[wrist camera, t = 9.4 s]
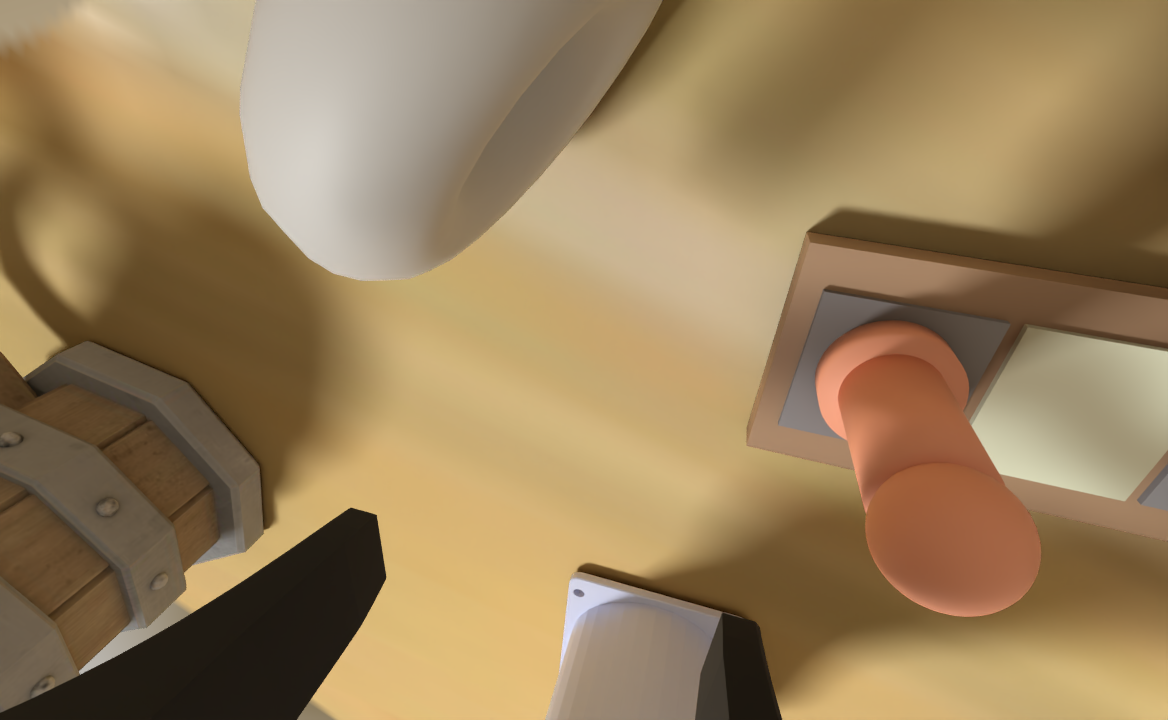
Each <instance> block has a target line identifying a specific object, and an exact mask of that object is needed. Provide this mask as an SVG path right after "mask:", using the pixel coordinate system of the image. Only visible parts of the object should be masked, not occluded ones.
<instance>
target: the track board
mask: <svg viewBox="0 0 1168 720" xmlns="http://www.w3.org/2000/svg"><path fill="white" fill-rule="evenodd" d="M887 320H899V321H907V322H912V323H916V324H919V325H922V326H924V327H927V328H929V329H930V330H932V331H934V332H935V333H937V334H938V335H940V336H941V337H942V338H943V339H944V340H945V341H946V342H947V344H948V345H949V346H950V348H951V349H952V351H953V352H954V354H955V355H956V357H957V358H958V360H959V361H960V363H961V364H962V366H963V368H964V370H965V372H966V374H967V377H968V381H969V396H968V400H967V404H966V406H965V408H964V410H963V412H964V414H965V416H966V417H967V419H968V421H969V423H970V424H971V426H972V428H973V429H974V431H975V433H976V435H977V436H978V438H979V440H980V441H981V443H982V445H983V447H984V448H985V450H986V452H987V453H988V455H989V457H990V459H991V460H992V462H993V464H994V466H995V467H996V469H997V471H998V472H999V474H1000V476H1001V478H1002V479H1003V481H1004V483H1005V486H1006V487H1007V488H1008V489H1009V490H1010V491H1011V492H1012V493H1013V494H1014V495H1015V496H1016V497H1017V498H1018V499H1019V500H1020V501H1021V502H1022V504H1023V505H1024V506H1025V508H1026V509H1027V510H1031V511H1035V512H1040V513H1044V514H1048V515H1053V516H1057V517H1062V518H1066V519H1070V520H1075V521H1079V522H1084V523H1088V524H1092V525H1097V526H1101V527H1105V528H1110V529H1114V530H1119V531H1123V532H1127V533H1132V534H1136V535H1141V536H1145V537H1149V538H1154V539H1158V540H1163V541H1167V542H1168V288H1162V287H1155V286H1149V285H1143V284H1136V283H1130V282H1124V281H1117V280H1111V279H1105V278H1098V277H1092V276H1086V275H1079V274H1073V273H1067V272H1060V271H1054V270H1047V269H1041V268H1035V267H1028V266H1022V265H1016V264H1009V263H1003V262H997V261H990V260H984V259H978V258H971V257H965V256H958V255H952V254H946V253H939V252H933V251H927V250H920V249H914V248H908V247H901V246H895V245H889V244H882V243H876V242H869V241H863V240H857V239H850V238H844V237H838V236H831V235H825V234H819V233H812V232H807V233H806V236H805V239H804V242H803V246H802V249H801V252H800V255H799V259H798V262H797V265H796V268H795V272H794V275H793V278H792V282H791V285H790V288H789V291H788V295H787V298H786V301H785V304H784V308H783V311H782V314H781V318H780V321H779V324H778V327H777V331H776V334H775V337H774V340H773V344H772V347H771V350H770V354H769V357H768V360H767V363H766V367H765V370H764V373H763V376H762V380H761V383H760V386H759V389H758V393H757V396H756V399H755V403H754V406H753V409H752V412H751V416H750V419H749V422H748V425H747V446H750V447H754V448H759V449H763V450H767V451H772V452H776V453H780V454H785V455H789V456H794V457H798V458H802V459H807V460H811V461H816V462H820V463H824V464H829V465H833V466H838V467H842V468H846V469H851V470H855V469H854V465H853V461H852V457H851V453H850V449H849V445H848V441H847V440H845V439H843V438H842V437H840V436H839V435H837V434H836V433H835V432H834V431H833V430H832V429H831V428H830V427H829V426H828V424H827V423H826V422H825V420H824V418H823V416H822V414H821V411H820V407H819V403H818V398H817V392H816V387H815V372H816V368H817V365H818V362H819V360H820V358H821V356H822V355H823V353H824V352H825V350H826V349H827V348H828V347H829V346H830V345H831V344H832V343H833V342H834V341H835V340H836V339H837V338H839V337H840V336H842V335H843V334H845V333H846V332H848V331H850V330H852V329H854V328H857V327H859V326H862V325H865V324H868V323H872V322H877V321H887Z"/></svg>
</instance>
